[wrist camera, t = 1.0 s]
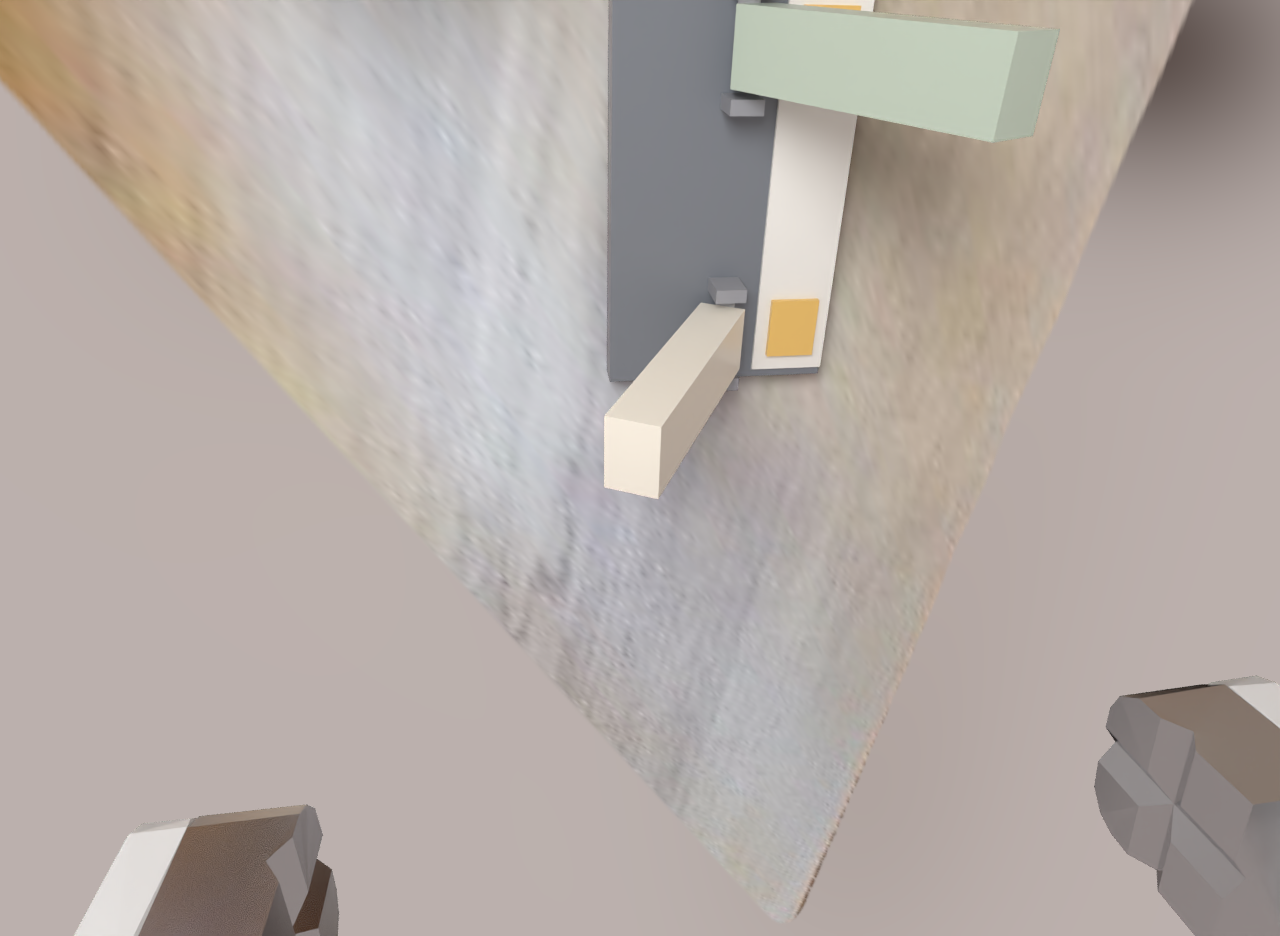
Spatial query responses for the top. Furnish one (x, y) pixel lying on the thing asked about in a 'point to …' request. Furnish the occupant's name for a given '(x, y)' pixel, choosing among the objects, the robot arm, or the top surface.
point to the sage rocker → (896, 66)
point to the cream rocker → (672, 401)
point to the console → (715, 192)
